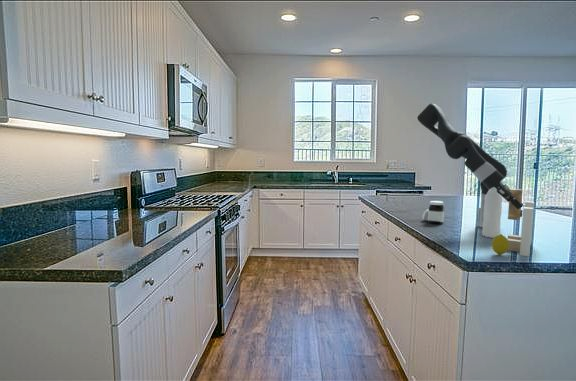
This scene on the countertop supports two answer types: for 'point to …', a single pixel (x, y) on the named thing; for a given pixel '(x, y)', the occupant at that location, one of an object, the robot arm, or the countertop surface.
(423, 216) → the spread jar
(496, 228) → the water bottle
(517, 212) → the tan wooden block
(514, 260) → the countertop surface
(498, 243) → the lemon
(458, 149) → the robot arm
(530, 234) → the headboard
